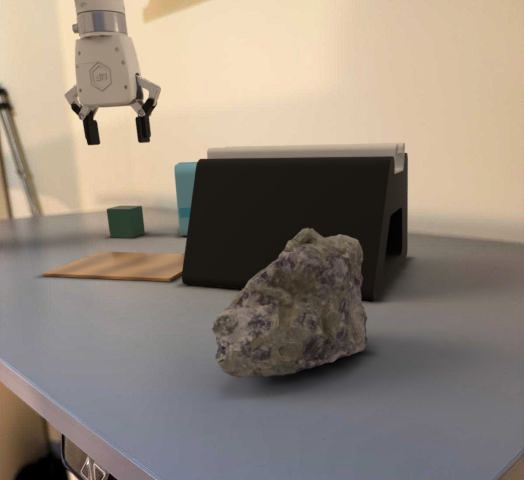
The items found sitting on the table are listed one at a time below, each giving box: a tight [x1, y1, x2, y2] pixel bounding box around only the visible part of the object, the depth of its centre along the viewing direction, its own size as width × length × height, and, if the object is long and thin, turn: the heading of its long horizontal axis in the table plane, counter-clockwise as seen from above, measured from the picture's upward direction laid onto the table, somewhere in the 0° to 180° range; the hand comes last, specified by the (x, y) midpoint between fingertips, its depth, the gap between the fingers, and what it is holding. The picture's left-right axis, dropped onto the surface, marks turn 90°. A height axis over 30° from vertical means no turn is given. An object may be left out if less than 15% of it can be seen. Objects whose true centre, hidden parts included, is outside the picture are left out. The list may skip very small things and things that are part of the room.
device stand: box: [181, 142, 409, 301], centre depth 66 cm, size 22×22×15 cm
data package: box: [173, 161, 198, 237], centre depth 98 cm, size 12×4×12 cm, turn 4°
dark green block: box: [106, 205, 146, 239], centre depth 97 cm, size 5×5×5 cm
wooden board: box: [42, 251, 185, 282], centre depth 74 cm, size 18×14×1 cm
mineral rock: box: [211, 228, 368, 378], centre depth 40 cm, size 13×11×10 cm
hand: (118, 143), depth 92 cm, fingers open, 9 cm apart
